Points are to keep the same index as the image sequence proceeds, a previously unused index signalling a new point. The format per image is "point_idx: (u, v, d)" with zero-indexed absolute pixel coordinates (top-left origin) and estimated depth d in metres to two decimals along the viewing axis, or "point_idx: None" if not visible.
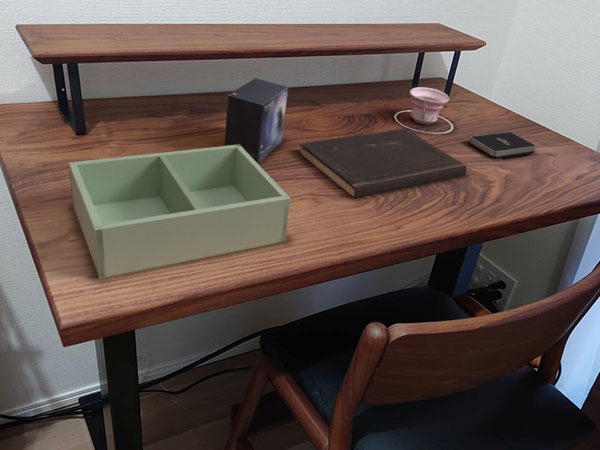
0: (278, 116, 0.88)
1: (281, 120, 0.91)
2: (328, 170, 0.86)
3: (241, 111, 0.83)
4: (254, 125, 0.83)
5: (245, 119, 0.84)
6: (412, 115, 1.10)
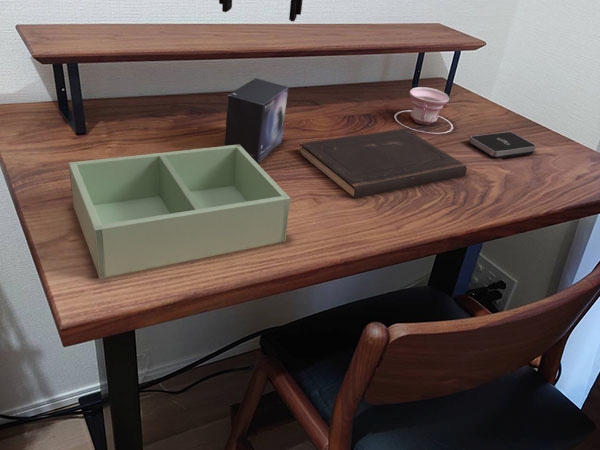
0: (278, 116, 0.88)
1: (281, 120, 0.91)
2: (328, 170, 0.86)
3: (241, 111, 0.83)
4: (254, 125, 0.83)
5: (245, 119, 0.84)
6: (412, 115, 1.10)
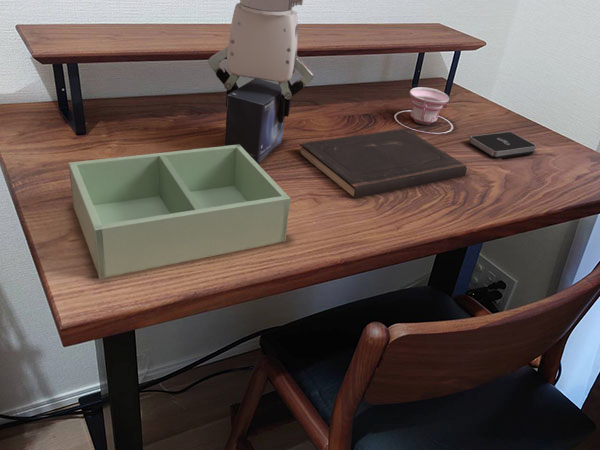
0: (278, 116, 0.88)
1: None
2: (328, 170, 0.86)
3: (241, 111, 0.83)
4: (254, 124, 0.83)
5: (245, 118, 0.84)
6: (412, 115, 1.10)
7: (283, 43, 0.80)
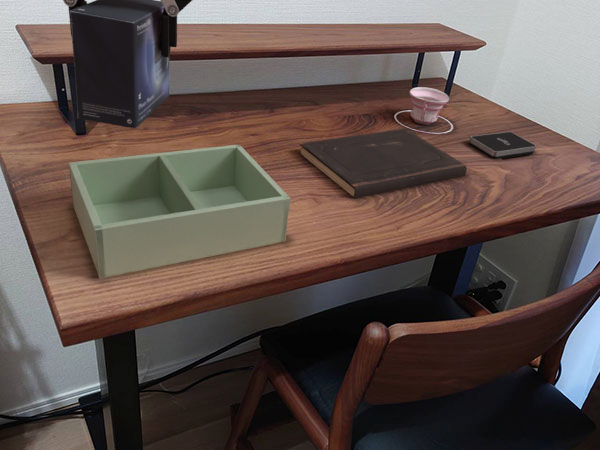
0: (160, 48, 0.56)
1: None
2: (328, 170, 0.86)
3: (97, 38, 0.50)
4: (123, 59, 0.51)
5: (105, 50, 0.51)
6: (412, 115, 1.10)
7: None
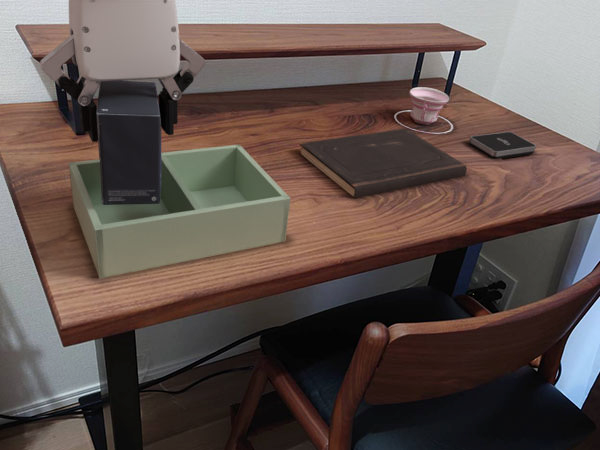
0: None
1: None
2: (328, 170, 0.86)
3: (124, 134, 0.55)
4: (149, 147, 0.57)
5: (132, 142, 0.56)
6: (412, 115, 1.10)
7: (165, 20, 0.54)
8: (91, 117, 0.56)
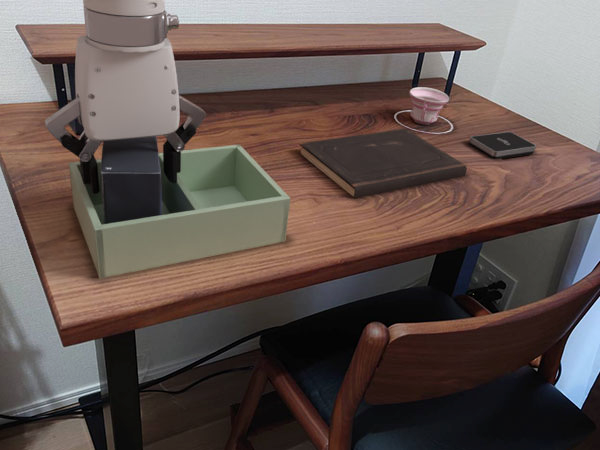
0: None
1: None
2: (328, 170, 0.86)
3: (126, 190, 0.58)
4: (150, 201, 0.60)
5: (134, 197, 0.59)
6: (412, 115, 1.10)
7: (166, 85, 0.57)
8: (91, 172, 0.59)
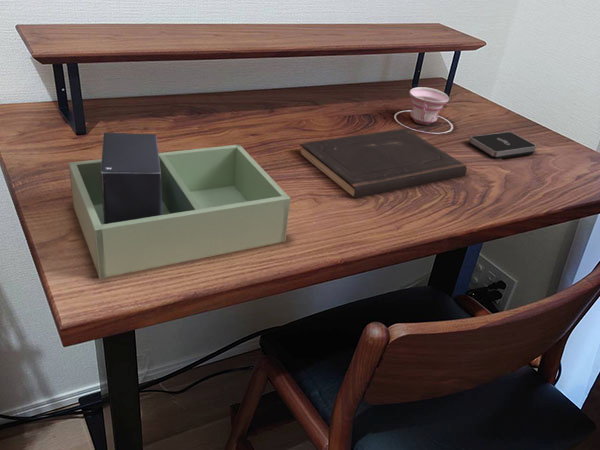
0: None
1: None
2: (328, 170, 0.86)
3: (127, 190, 0.58)
4: (150, 201, 0.60)
5: (134, 197, 0.59)
6: (412, 115, 1.10)
7: None
8: None
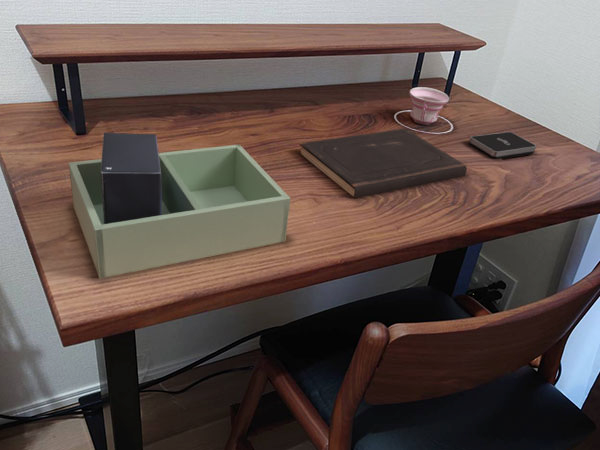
0: None
1: None
2: (328, 170, 0.86)
3: (127, 190, 0.58)
4: (150, 201, 0.60)
5: (134, 197, 0.59)
6: (412, 115, 1.10)
7: None
8: None
